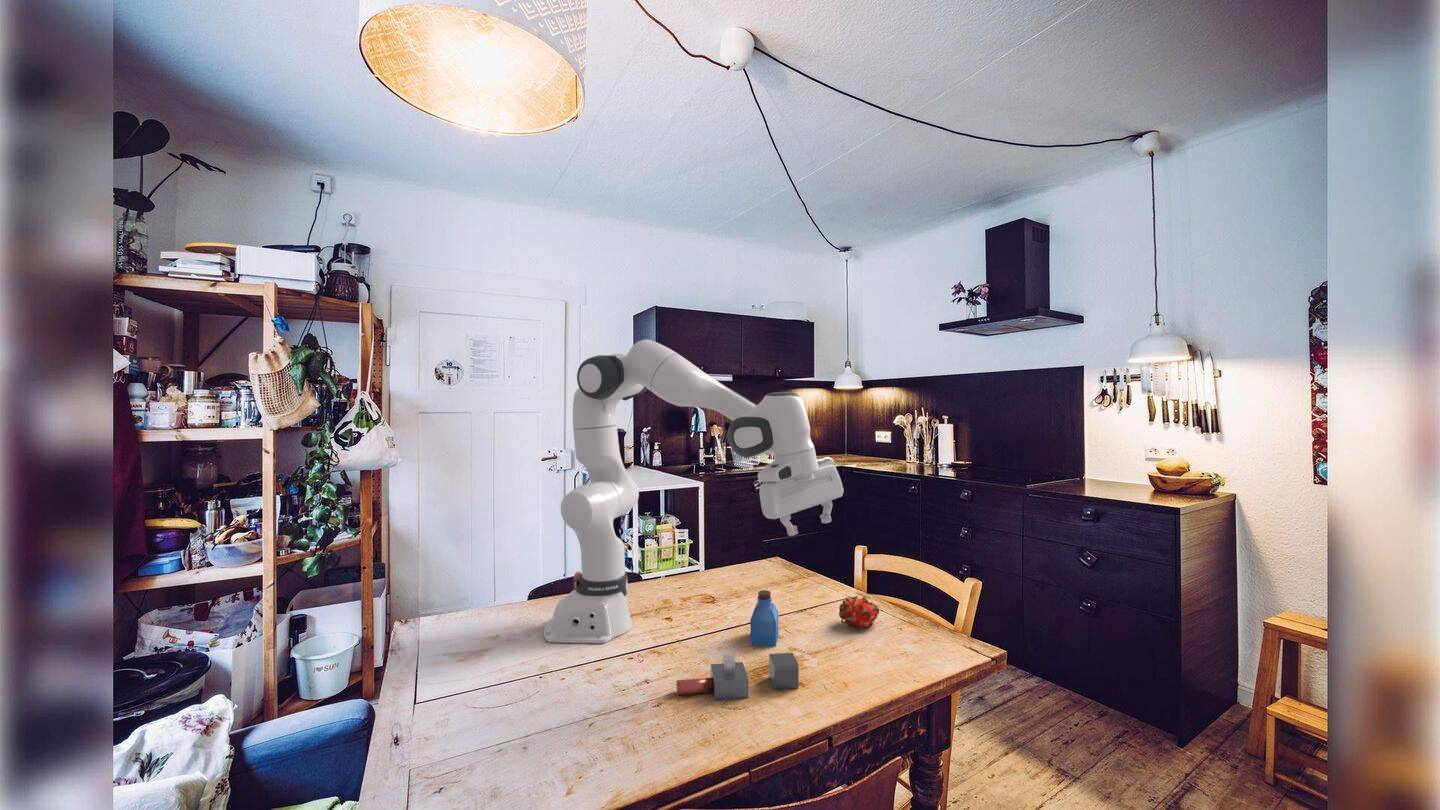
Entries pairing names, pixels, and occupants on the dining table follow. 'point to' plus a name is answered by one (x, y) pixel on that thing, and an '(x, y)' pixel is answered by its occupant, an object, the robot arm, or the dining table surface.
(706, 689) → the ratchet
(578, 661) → the dining table surface
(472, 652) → the dining table surface
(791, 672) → the grey block
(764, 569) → the dining table surface
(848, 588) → the dining table surface
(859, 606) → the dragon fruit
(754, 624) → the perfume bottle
